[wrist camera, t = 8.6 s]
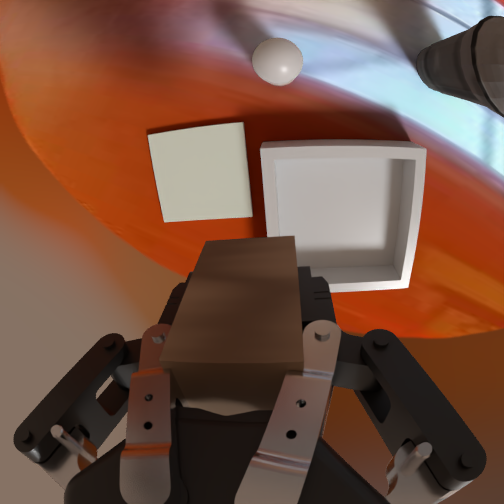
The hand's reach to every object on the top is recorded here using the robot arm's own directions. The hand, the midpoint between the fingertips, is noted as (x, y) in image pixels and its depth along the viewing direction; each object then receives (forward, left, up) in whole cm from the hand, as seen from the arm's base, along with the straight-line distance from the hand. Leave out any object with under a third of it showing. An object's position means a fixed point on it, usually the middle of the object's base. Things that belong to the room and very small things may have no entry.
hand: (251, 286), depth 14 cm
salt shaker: (+2, +10, -16) cm, 19 cm away
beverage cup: (+17, +11, -17) cm, 26 cm away
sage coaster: (-6, +1, -16) cm, 17 cm away
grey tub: (+7, -3, -16) cm, 18 cm away
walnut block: (0, 0, -1) cm, 1 cm away
